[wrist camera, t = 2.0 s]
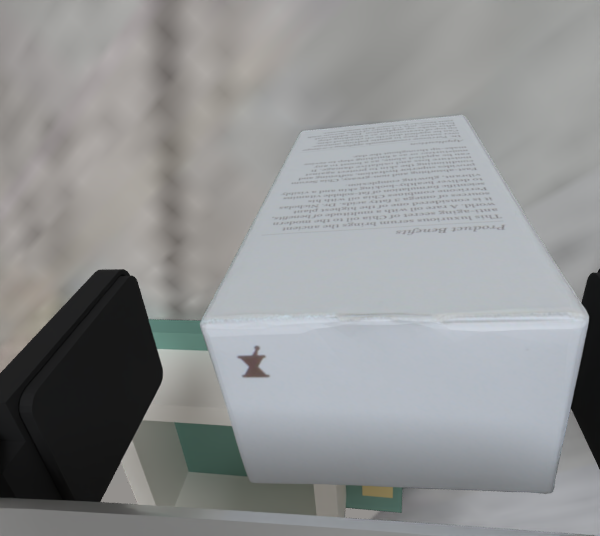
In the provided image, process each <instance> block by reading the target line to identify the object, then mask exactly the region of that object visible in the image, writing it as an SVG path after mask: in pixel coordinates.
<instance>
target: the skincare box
mask: <svg viewBox="0 0 600 536" xmlns="http://www.w3.org/2000/svg"><path fill="white" fill-rule="evenodd" d="M588 323H589V315H588V313H587V311H586V309H585V308H584V306H583V305H582V304H581V302H580V301H579V299H578V298H577V296H576V294H575V293H574V291H573V289H572V288H571V286H570V285H569V283H568V282H567V280H566V279H565V278H564V276H563V274H562V273H561V271H560V269H559V268H558V266H557V265H556V263H555V262H554V260H553V259H552V257H551V256H550V254H549V252H548V251H547V249H546V247H545V245H544V244H543V242H542V241H541V239H540V238H539V236H538V235H537V233H536V231H535V229H534V228H533V226H532V225H531V223H530V222H529V220H528V219H527V217H526V215H525V214H524V212H523V210H522V208H521V207H520V205H519V203H518V202H517V200H516V199H515V197H514V195H513V194H512V192H511V190H510V188H509V187H508V185H507V184H506V182H505V181H504V179H503V177H502V176H501V174H500V173H499V171H498V169H497V168H496V166H495V164H494V162H493V161H492V159H491V157H490V155H489V154H488V152H487V151H486V149H485V147H484V145H483V144H482V142H481V141H480V139H479V137H478V136H477V134H476V132H475V131H474V129H473V127H472V126H471V124H470V122H469V121H468V119H467V118H466V117H465V116H463V115H457V116H448V117H438V118H428V119H417V120H406V121H397V122H386V123H377V124H368V125H357V126H347V127H338V128H328V129H318V130H306V131H301V132H300V134H299V136H298V137H297V139H296V141H295V143H294V145H293V147H292V149H291V151H290V153H289V154H288V157H287V159H286V160H285V162H284V164H283V166H282V168H281V170H280V172H279V174H278V175H277V177H276V179H275V181H274V183H273V185H272V187H271V189H270V191H269V192H268V194H267V196H266V198H265V200H264V202H263V204H262V206H261V208H260V210H259V212H258V214H257V216H256V218H255V219H254V221H253V223H252V225H251V227H250V229H249V231H248V233H247V235H246V236H245V238H244V240H243V242H242V244H241V246H240V248H239V250H238V252H237V254H236V256H235V258H234V259H233V261H232V263H231V265H230V267H229V269H228V271H227V273H226V275H225V277H224V279H223V280H222V282H221V284H220V286H219V288H218V290H217V292H216V293H215V295H214V297H213V299H212V301H211V303H210V305H209V307H208V308H207V310H206V312H205V314H204V316H203V318H202V320H201V322H200V328H201V331H202V334H203V337H204V340H205V343H206V346H207V349H208V352H209V355H210V358H211V361H212V364H213V367H214V370H215V373H216V376H217V379H218V382H219V385H220V389H221V392H222V395H223V398H224V401H225V404H226V407H227V411H228V415H229V418H230V422H231V425H232V428H233V431H234V435H235V439H236V442H237V445H238V449H239V452H240V455H241V458H242V461H243V464H244V467H245V470H246V473H247V476H248V479H249V481H250V482H252V483H269V484H329V485H356V486H380V487H400V488H424V489H452V490H482V491H503V492H532V493H543V494H547V493H552V492H553V489H554V484H555V477H556V473H557V468H558V464H559V459H560V455H561V450H562V446H563V441H564V436H565V432H566V427H567V423H568V418H569V413H570V408H571V404H572V399H573V395H574V390H575V385H576V381H577V376H578V371H579V366H580V362H581V357H582V352H583V347H584V343H585V338H586V333H587V328H588Z"/></svg>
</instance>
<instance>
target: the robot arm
mask: <svg viewBox="0 0 600 536" xmlns="http://www.w3.org/2000/svg"><path fill="white" fill-rule="evenodd" d="M581 304H582V305H583V306H584V308H585V309H586V311H587V313H588V315H589V323H588V328H587V333H586V338H585V343H584V347H583V352H582V357H581V362H580V366H579V371H578V376H577V381H576V385H575V390H574V395H573V399H572V404H571V409H572V411H573V413H574V416H575V418H576V420H577V422H578V424H579V426H580V428H581V430H582V433H583V435H584V437H585V439H586V441H587V443H588V445H589V447H590V450H591V452H592V454H593V456H594V458H595V460H596V462H597V464H598V467H599V469H600V269H599V271H598V273H592V274H590V275H589V277H588V280H587V283H586V287H585V291H584V295H583V299H582V303H581ZM162 379H163V368H162V364H161V361H160V357H159V354H158V350H157V347H156V343H155V340H154V337H153V333H152V330H151V326H150V323H149V319H148V316H147V313H146V309H145V306H144V302H143V299H142V295H141V292H140V289H139V285H138V282H137V279H136V278H135V277H134V276H130V275H129V273H128V272H127V271H126V270H124V269H121V270H98V271H96V272H95V273H94V274H93V275H92V276H91V277H90V278H89V279H88V280H87V282H86V283H85V284H84V285H83V286H82V287H81V288H80V289H79V290H78V291H77V292H76V293H75V294H74V295H73V296H72V298H71V299H70V300H69V301H68V302H67V303H66V304H65V305H64V306H63V307H62V308H61V309H60V310H59V311H58V312H57V313H56V315H55V316H54V317H53V318H52V319H51V320H50V321H49V322H48V323H47V324H46V325H45V326H44V327H43V328H42V329H41V331H40V332H39V333H38V334H37V335H36V336H35V337H34V338H33V339H32V340H31V341H30V342H29V343H28V344H27V345H26V346H25V348H24V349H23V350H22V351H21V352H20V353H19V354H18V355H17V356H16V357H15V358H14V359H13V360H12V361H11V362H10V364H9V365H8V366H7V367H6V368H5V369H4V370H3V371H2V372H1V373H0V536H594V535H582V534H568V533H555V532H541V531H527V530H513V529H499V528H485V527H471V526H457V525H443V524H429V523H416V522H401V521H386V520H371V519H357V518H342V517H327V516H312V515H297V514H281V513H266V512H251V511H236V510H220V509H204V508H187V507H171V506H154V505H138V504H121V503H105V502H100V501H101V499H102V497H103V495H104V493H105V492H106V490H107V488H108V486H109V484H110V482H111V480H112V478H113V476H114V474H115V472H116V470H117V468H118V466H119V464H120V463H121V461H122V459H123V457H124V455H125V453H126V451H127V449H128V447H129V445H130V443H131V441H132V439H133V437H134V435H135V433H136V432H137V430H138V428H139V426H140V424H141V422H142V420H143V418H144V416H145V414H146V412H147V410H148V408H149V406H150V404H151V402H152V401H153V399H154V397H155V395H156V393H157V391H158V389H159V387H160V385H161V383H162Z"/></svg>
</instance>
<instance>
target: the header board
mask: <svg viewBox="0 0 600 536" xmlns="http://www.w3.org/2000/svg"><path fill="white" fill-rule="evenodd" d="M200 322H201V321H189V320H152V319H149V323H150V326H151V330H152V333H153V337H154V340H155V343H156V347H157V350H158V354H159V357H160V361H161V364H162V368H163V379H162V383H161V385H160V387H159V389H158V391H157V393H156V395H155V397H154V399H153V401H152V402H151V404H150V406H149V408H148V410H147V412H146V414H145V416H144V418H143V420H142V422H141V424H140V426H139V428H138V430H137V432H136V433H135V435H134V437H133V439H132V441H131V443H130V445H129V447H128V449H127V451H126V453H125V455H124V457H123V459H122V461H121V464H122V466H123V469H124V471H125V474H126V477H127V479H128V481H129V484H130V487H131V489H132V492H133V494H134V497H135V500H136V502H137V504H138V505H154V506H171V507H187V508H204V509H220V510H236V511H251V512H266V513H281V514H297V515H312V516H327V517H342V518H345V508H355V509H366V510H377V511H388V512H398V513H402V488H400V487H380V486H356V485H329V484H269V483H252V482H250V481H249V479H248V476H247V473H246V470H245V467H244V464H243V461H242V458H241V455H240V452H239V449H238V445H237V442H236V439H235V435H234V431H233V428H232V425H231V422H230V418H229V415H228V411H227V407H226V404H225V401H224V398H223V395H222V392H221V389H220V385H219V382H218V379H217V376H216V373H215V370H214V367H213V364H212V361H211V358H210V355H209V352H208V349H207V346H206V343H205V340H204V337H203V334H202V331H201V328H200Z"/></svg>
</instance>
